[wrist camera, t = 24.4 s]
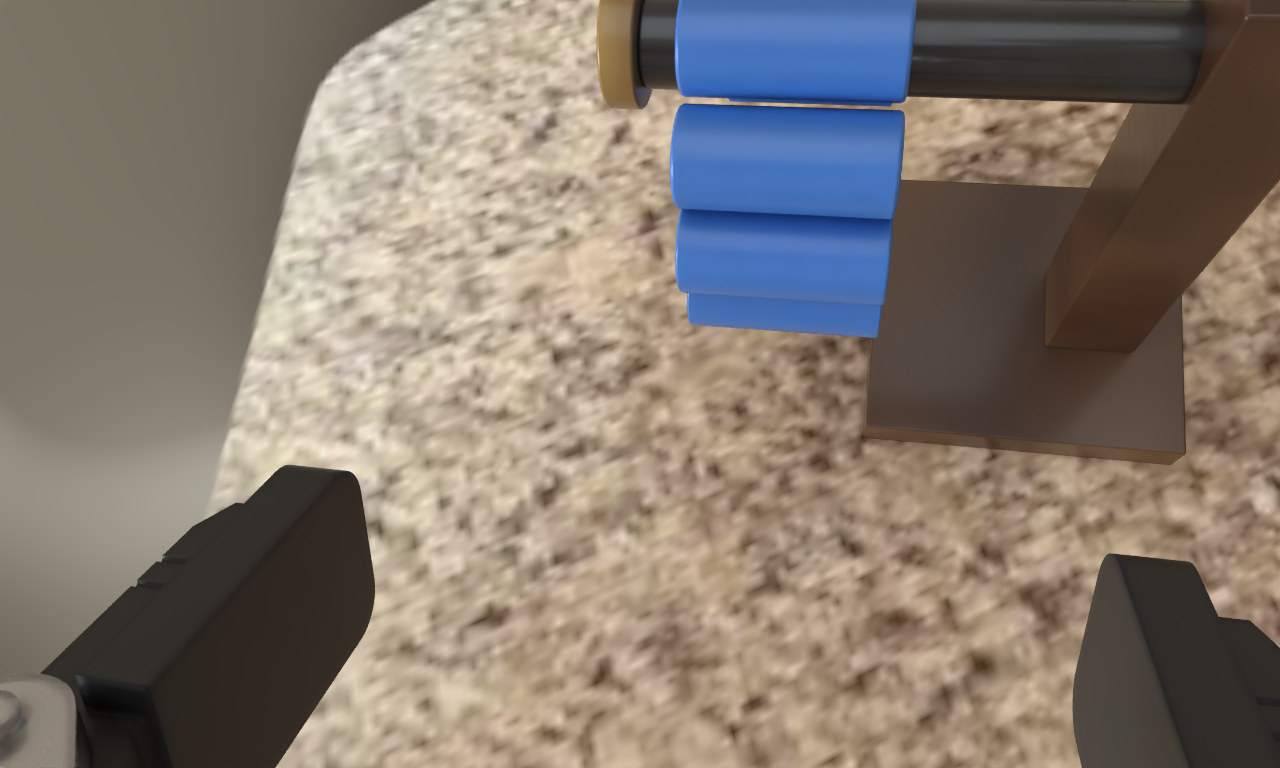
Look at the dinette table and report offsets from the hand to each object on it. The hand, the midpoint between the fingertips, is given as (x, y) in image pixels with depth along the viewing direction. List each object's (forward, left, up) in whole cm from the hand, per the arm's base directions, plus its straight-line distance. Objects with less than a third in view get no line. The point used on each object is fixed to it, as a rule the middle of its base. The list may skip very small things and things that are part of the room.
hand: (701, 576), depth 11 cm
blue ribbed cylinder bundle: (-7, -9, -13) cm, 17 cm away
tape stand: (-9, -7, -19) cm, 22 cm away
